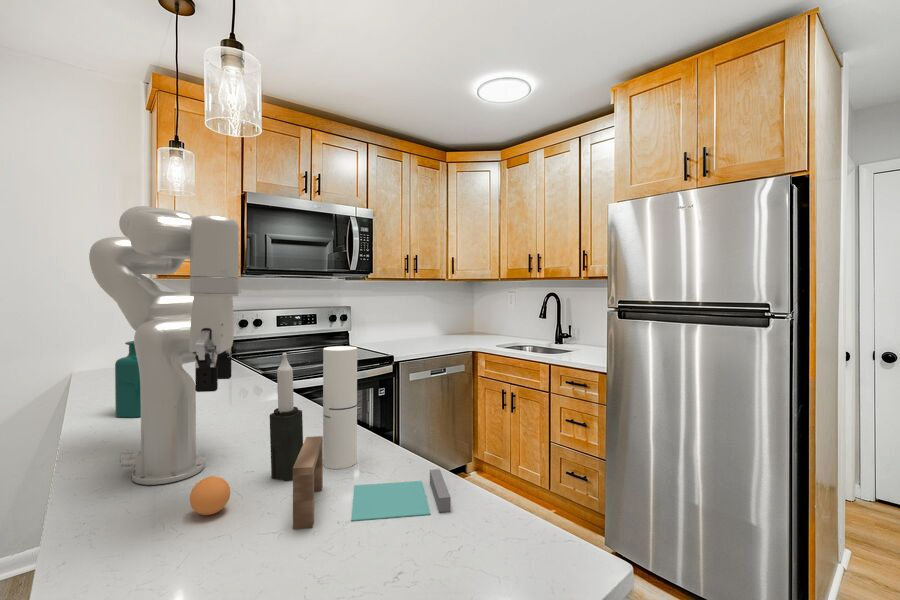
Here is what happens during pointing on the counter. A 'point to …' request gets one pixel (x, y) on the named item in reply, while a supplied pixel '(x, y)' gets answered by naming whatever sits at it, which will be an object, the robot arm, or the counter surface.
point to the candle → (285, 426)
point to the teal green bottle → (127, 385)
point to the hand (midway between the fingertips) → (214, 384)
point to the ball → (209, 495)
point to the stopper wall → (440, 491)
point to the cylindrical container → (339, 406)
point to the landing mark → (389, 500)
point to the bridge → (307, 481)
